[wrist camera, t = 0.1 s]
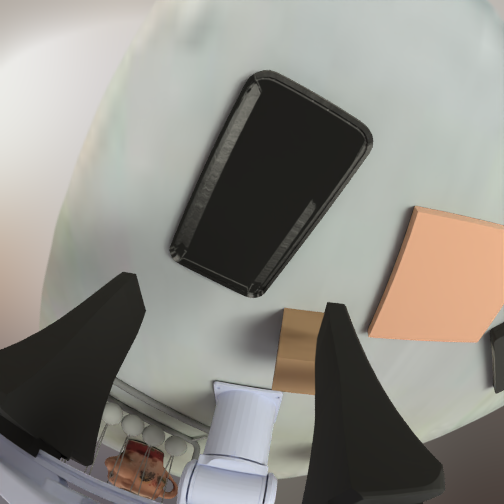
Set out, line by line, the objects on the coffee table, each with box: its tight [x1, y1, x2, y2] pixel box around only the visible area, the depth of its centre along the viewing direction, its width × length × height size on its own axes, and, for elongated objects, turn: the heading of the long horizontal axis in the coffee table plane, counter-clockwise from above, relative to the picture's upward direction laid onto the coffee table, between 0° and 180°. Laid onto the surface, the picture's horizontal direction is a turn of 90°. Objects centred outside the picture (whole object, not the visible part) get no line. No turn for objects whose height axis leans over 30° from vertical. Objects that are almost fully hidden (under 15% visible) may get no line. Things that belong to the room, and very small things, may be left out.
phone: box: [170, 70, 373, 298], centre depth 20 cm, size 8×1×15 cm
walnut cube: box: [272, 308, 324, 395], centre depth 24 cm, size 5×5×5 cm
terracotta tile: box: [368, 206, 504, 342], centre depth 20 cm, size 12×12×1 cm
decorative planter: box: [105, 440, 178, 500], centre depth 58 cm, size 20×12×14 cm, turn 55°
